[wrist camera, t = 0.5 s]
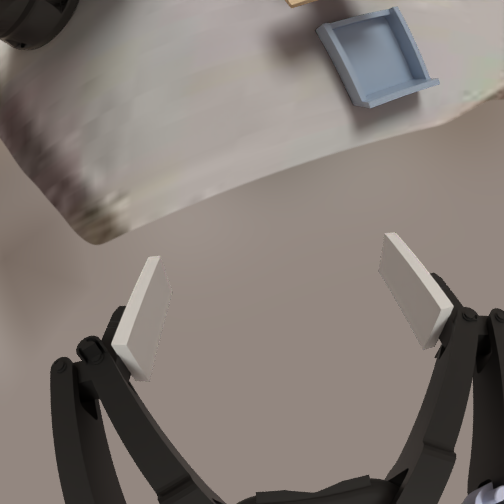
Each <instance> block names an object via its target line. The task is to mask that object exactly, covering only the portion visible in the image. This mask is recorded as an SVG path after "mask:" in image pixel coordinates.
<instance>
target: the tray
mask: <svg viewBox="0 0 504 504" xmlns="http://www.w3.org/2000/svg"><path fill="white" fill-rule="evenodd" d="M315 31H316V33H317V35H318V36H319V38H320V40H321V41H322V43H323V45H324V47H325V49H326V50H327V52H328V54H329V56H330V58H331V60H332V62H333V64H334V66H335V68H336V70H337V72H338V74H339V76H340V78H341V80H342V82H343V84H344V86H345V88H346V90H347V92H348V95H349V97H350V99H351V101H352V103H353V105H354V106H360V107H366V108H373V107H375V106H378V105H381V104H383V103H386V102H389V101H391V100H394V99H397V98H400V97H403V96H405V95H408V94H411V93H414V92H417V91H420V90H423V89H426V88H429V87H432V86H435V85H439V84H440V82H439V79H437V78H430V76H429V74H428V71H427V69H426V66H425V63H424V61H423V58H422V56H421V54H420V51H419V49H418V47H417V44H416V42H415V40H414V38H413V36H412V34H411V32H410V29H409V27H408V25H407V23H406V21H405V20H404V18H403V16H402V14H401V12H400V10H399V8H398V7H392V8H390V9H387V10H382V11H377V12H372V13H368V14H363V15H359V16H355V17H351V18H347V19H344V20H340V21H336V22H333V23H330V24H329V23H325V24H322V25H321V26H320V27H319V28H317V29H316V30H315Z"/></svg>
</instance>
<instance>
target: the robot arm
mask: <svg viewBox="0 0 504 504" xmlns="http://www.w3.org/2000/svg"><path fill="white" fill-rule="evenodd" d="M77 3H78V0H0V40H2V41H4V42H5V43H7V44H9V45H10V46H12V47H14V48H16V49H20V50H32V49H36V48H39V47H41V46H43V45H45V44H46V43H48V42H49V41H50V40H51V39H53V38H54V37H55V36H56V35H57V34H58V33H59V32H60V31H61V30H62V28H63V27H64V26H65V25H66V23H67V22H68V20H69V19H70V17H71V16H72V14H73V12H74V10H75V8H76V6H77ZM379 273H380V274H381V276H382V278H383V279H384V281H385V283H386V284H387V286H388V288H389V289H390V291H391V293H392V294H393V296H394V298H395V299H396V301H397V303H398V305H399V307H400V308H401V310H402V312H403V314H404V316H405V317H406V319H407V321H408V323H409V324H410V327H411V328H412V330H413V332H414V334H415V336H416V338H417V339H418V341H419V344H420V345H421V347H422V349H423V350H425V349H428V348H431V347H435V345H436V343H437V341H438V339H440V341H441V343H442V345H441V347H440V348H439V350H438V352H437V354H436V356H435V358H437V360H436V363H435V367H434V370H433V374H432V377H431V380H430V383H429V386H428V389H427V392H426V395H425V398H424V401H423V403H422V406H421V409H420V411H419V414H418V416H417V419H416V421H415V424H414V426H413V428H412V431H411V433H410V435H409V438H408V440H407V442H406V444H405V446H404V448H403V451H402V453H401V455H400V457H399V459H398V461H397V462H396V464H395V465H394V466H393V468H392V469H391V470H390V472H389V473H388V475H387V477H386V478H385V480H381V479H372V478H371V479H370V477H369V475H366V476H362V477H358V478H354V479H350V480H345V481H342V482H339V483H338V484H335V485H333V486H331V487H328V488H326V489H323V490H321V491H318V492H315V493H308V492H296V491H287V490H282V491H269V492H256V496H253V497H250V498H247V499H244V500H242V501H241V502H238V503H237V504H437V503H438V501H439V499H440V497H441V495H442V493H443V491H444V488H445V486H446V484H447V481H448V479H449V477H450V474H451V472H452V469H453V466H454V463H455V460H456V454H455V453H454V447H455V444H456V441H457V438H458V435H459V431H460V428H461V425H462V421H463V417H464V413H465V409H466V405H467V401H468V397H469V392H470V388H471V383H472V377H473V404H474V405H473V410H474V411H473V437H472V450H471V459H470V467H469V475H468V492H467V493H468V496H467V497H466V498H465V499H464V501H463V503H462V504H504V311H503V310H501V309H498V308H497V309H496V308H495V309H493V310H492V311H491V312H490V314H489V316H478V314H477V313H476V312H475V311H474V310H473V309H471V308H467V307H463V306H462V304H461V303H460V302H459V300H458V299H457V298H456V296H455V295H454V294H453V292H452V291H451V290H450V288H449V287H448V286H447V285H446V283H445V282H444V281H443V279H442V278H441V277H439V276H438V275H437V274H435V273H429V272H428V271H427V270H426V268H425V267H424V266H423V265H422V263H421V262H420V261H419V260H418V258H417V257H416V256H415V255H414V254H413V252H412V251H411V250H410V249H409V248H408V246H407V245H406V244H405V243H404V242H403V240H402V239H401V238H400V237H399V236H398V235H397V234H396V233H385V235H384V242H383V248H382V254H381V260H380V266H379ZM172 293H173V292H172V290H171V286H170V283H169V280H168V278H167V274H166V271H165V268H164V265H163V262H162V258H161V256H152V257H149V258H148V259H147V262H146V264H145V266H144V268H143V270H142V272H141V274H140V277H139V279H138V281H137V283H136V285H135V288H134V290H133V292H132V295H131V297H130V299H129V301H128V304H127V306H119V307H118V309H116V311H115V312H114V313H113V315H112V317H111V319H110V322H109V324H108V326H107V328H106V331H105V333H104V335H103V338H102V340H100V339H99V337H96V336H89V337H86V338H84V339H83V340H82V341H81V342H80V343H79V344H78V346H77V349H76V352H77V355H78V356H79V357H80V359H81V360H82V361H79V362H75V363H73V362H72V361H71V360H70V359H69V358H67V357H61V358H59V359H57V360H56V361H55V362H54V363H53V365H52V367H51V371H50V373H51V375H50V390H51V414H52V428H53V438H54V446H55V454H56V461H57V466H58V472H59V478H60V482H61V487H62V492H63V496H64V500H65V504H126V501H125V499H124V496H123V493H122V490H121V487H120V485H119V481H118V478H117V475H116V472H115V469H114V465H113V461H112V458H111V454H110V451H109V447H108V443H107V439H106V434H105V430H104V425H103V421H102V415H101V410H100V405H99V399H100V400H101V402H102V404H103V406H104V408H105V410H106V412H107V414H108V416H109V418H110V420H111V422H112V424H113V425H114V427H115V429H116V431H117V433H118V435H119V436H120V438H121V440H122V442H123V443H124V445H125V447H126V448H127V450H128V452H129V454H130V455H131V457H132V458H133V460H134V462H135V463H136V465H137V466H138V468H139V469H140V471H141V472H142V474H143V475H144V477H145V478H146V479H147V481H148V482H149V484H150V485H151V487H152V488H153V489H154V491H155V492H156V494H157V496H158V501H159V503H160V504H226V503H225V502H224V501H223V500H222V499H221V498H220V497H219V496H218V495H217V494H216V493H214V492H213V491H212V490H211V489H210V488H209V487H208V486H207V485H206V484H205V483H204V481H203V480H202V479H201V478H200V477H199V476H198V475H197V474H196V473H195V471H194V470H193V469H192V468H191V467H190V465H189V464H188V463H187V462H186V461H185V459H184V458H183V457H182V456H181V455H180V453H179V452H178V451H177V449H176V448H175V447H174V446H173V444H172V443H171V442H170V440H169V439H168V438H167V436H166V435H165V434H164V432H163V431H162V430H161V429H160V427H159V425H158V424H157V423H156V421H155V420H154V418H153V417H152V415H151V414H150V412H149V411H148V410H147V408H146V407H145V405H144V403H143V402H142V400H141V399H140V397H139V396H138V394H137V393H136V391H135V389H134V388H133V386H132V385H131V383H130V382H129V379H130V376H131V375H132V377H133V378H134V379H135V381H148V382H149V381H150V378H151V373H152V370H153V365H154V361H155V357H156V353H157V349H158V345H159V341H160V337H161V333H162V329H163V325H164V321H165V318H166V314H167V310H168V307H169V303H170V300H171V296H172Z"/></svg>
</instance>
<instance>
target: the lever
mask: <svg viewBox="0 0 504 504" xmlns="http://www.w3.org/2000/svg"><path fill="white" fill-rule="evenodd" d="M285 1H286V2H287V4H288V5H289V6H290V7H291V8H294V7H297V6H300V5H304V4H307V3H310V2H314V1H317V0H285Z"/></svg>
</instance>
